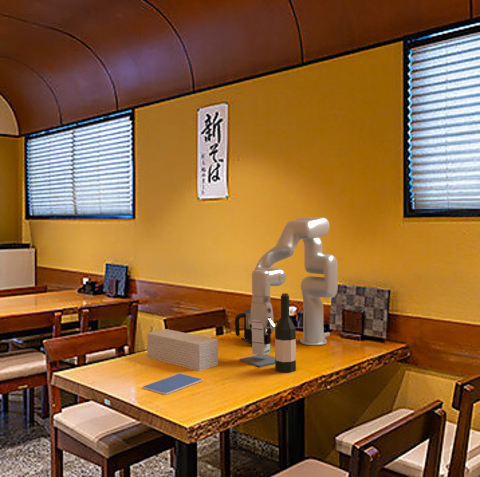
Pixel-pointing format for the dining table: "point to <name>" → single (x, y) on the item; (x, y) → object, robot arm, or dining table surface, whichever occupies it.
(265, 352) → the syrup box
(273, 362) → the mat
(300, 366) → the dining table surface
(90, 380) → the dining table surface
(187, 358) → the stack of papers
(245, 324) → the milk frother
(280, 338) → the wine bottle
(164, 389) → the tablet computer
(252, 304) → the robot arm
